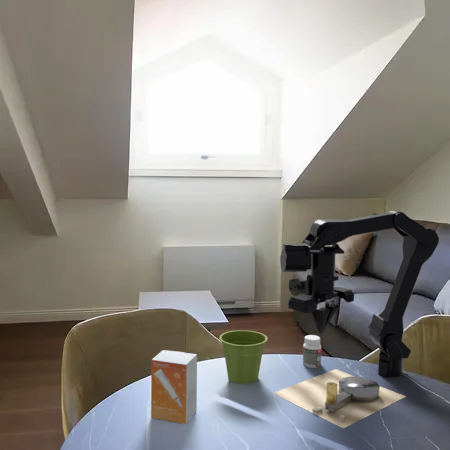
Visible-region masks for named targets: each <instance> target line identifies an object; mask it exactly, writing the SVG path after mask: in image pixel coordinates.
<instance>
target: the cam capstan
mask: <svg viewBox="0 0 450 450" xmlns="http://www.w3.org/2000/svg"><path fill="white" fill-rule="evenodd" d="M379 386H380V385H379V383H378V382H377V381H375V380H373V379H371V378H368V377H363V376H355V377H345V378H342V379H341V380H340V381H339V393H340V394H338V395H337V384H336V383H333V382H329V383H327V393H326V402H325V409H326V410H328V411H331V412H335V411H336V410H338V409H340V408H341V407H343V406H344V405H346V404H348V403H349V402H351V400H353V401H358V402H371V401H374V400H377V399H378V398H379V389H380V387H379Z"/></svg>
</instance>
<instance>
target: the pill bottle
mask: <svg viewBox="0 0 450 450" xmlns="http://www.w3.org/2000/svg"><path fill="white" fill-rule="evenodd" d="M302 348H303V349H302V365H303V366H304V367H307V368H310V369H315V368H320V367H321V365H322V345H321V337H320V336H318V335H315V334H308V335H305V336H304V343H303V345H302Z"/></svg>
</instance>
